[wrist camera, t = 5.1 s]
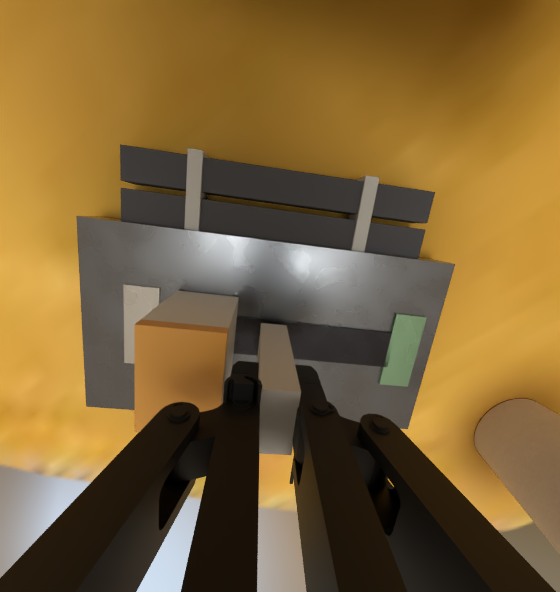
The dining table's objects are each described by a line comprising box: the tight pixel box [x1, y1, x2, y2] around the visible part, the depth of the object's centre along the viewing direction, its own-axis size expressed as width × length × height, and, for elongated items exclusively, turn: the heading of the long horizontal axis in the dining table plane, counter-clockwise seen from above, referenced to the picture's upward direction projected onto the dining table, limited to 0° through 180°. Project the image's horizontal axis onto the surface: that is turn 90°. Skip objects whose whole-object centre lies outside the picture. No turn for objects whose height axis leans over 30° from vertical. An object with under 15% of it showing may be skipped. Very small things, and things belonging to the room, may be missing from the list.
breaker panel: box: [77, 216, 455, 429], centre depth 19 cm, size 12×22×3 cm, turn 83°
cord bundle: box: [120, 145, 435, 259], centre depth 17 cm, size 5×18×2 cm, turn 83°
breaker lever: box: [134, 290, 239, 432], centre depth 14 cm, size 5×4×6 cm
